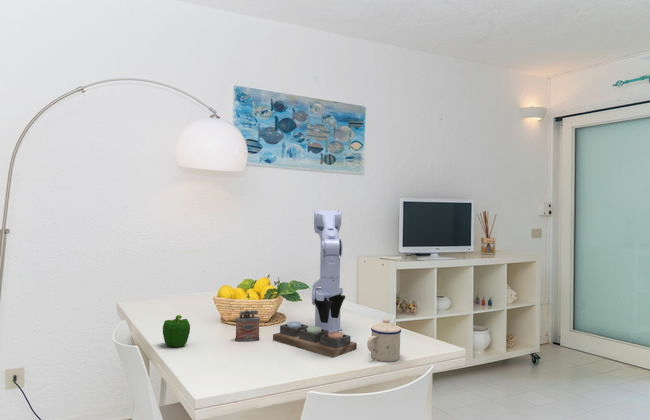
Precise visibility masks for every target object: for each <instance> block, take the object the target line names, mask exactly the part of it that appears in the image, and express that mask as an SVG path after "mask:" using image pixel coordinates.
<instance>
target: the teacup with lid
mask: <svg viewBox="0 0 650 420" xmlns="http://www.w3.org/2000/svg"><path fill="white" fill-rule="evenodd" d="M370 330H371V336H370V337H369V338H368V340H367V341H366V342H367V343H366V347H367V350H368V351H369V352H370V356H371V358H372V359H373V358H374V359H373V360H375V359H376V360H375V361H378V360H379V361H378V362H386V363H387V362H388V363H391V362H396V361H398V360H400V356H401V332H402V329H401V327H400V326H398V325H396V324H394V323H392V322H390V319H389V318H383V319H382V321H381V322H378V323H377V324H373V325H372V326H371V328H370Z"/></svg>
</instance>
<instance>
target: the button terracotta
mask: <svg viewBox="0 0 650 420" xmlns="http://www.w3.org/2000/svg"><path fill="white" fill-rule="evenodd" d="M343 334H344V333H343V332H341V331H333V332H328V337H329V338H333V339H340V338H343Z"/></svg>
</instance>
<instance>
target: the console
mask: <svg viewBox="0 0 650 420" xmlns="http://www.w3.org/2000/svg"><path fill="white" fill-rule="evenodd" d="M307 327H309V325H308V324H302V323H301V327H299V328H295V329H294V328H290V327H287V323H284V324H281V325H279V332H277V333H273V334H272V341H274V342H278V343H281V344H285V345H287V346H291V347H294V348H295V347H296V348H299V349H302V350H305V351H308V352H312V353H315V354H319V355H322V356H326V357H330V358H335V356H336V357H338V355H339V356H341V355H343V354H347V353H350V352H353V351H355V349H356V350H358V349H357V347H358V346H357V345H358V342H354V341H351V336H350V335H349V334H344V333H343V338H340V339H333V338H329V337H328V332H329V331H328V330H324V329H321V332H320V333H316V334H314V333H310V332H307ZM352 350H353V351H352Z"/></svg>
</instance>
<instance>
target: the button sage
mask: <svg viewBox="0 0 650 420" xmlns="http://www.w3.org/2000/svg"><path fill="white" fill-rule="evenodd" d="M307 332H310V333H314V334H316V333H320V332H321V327H317V326H315V325H314V326H313V325H312V326H308V327H307Z"/></svg>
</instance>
